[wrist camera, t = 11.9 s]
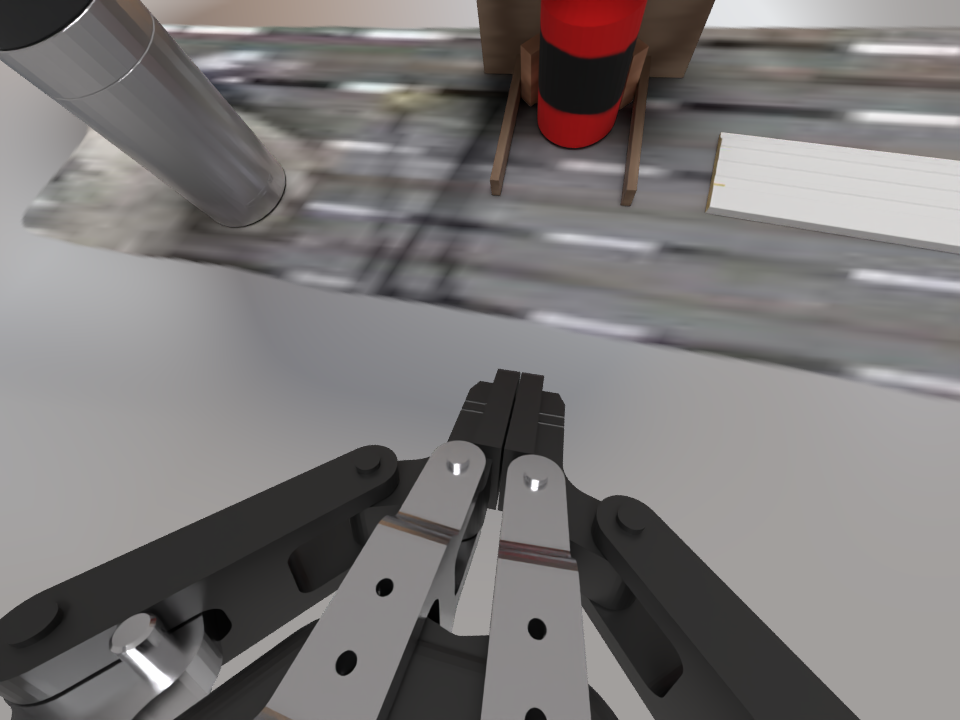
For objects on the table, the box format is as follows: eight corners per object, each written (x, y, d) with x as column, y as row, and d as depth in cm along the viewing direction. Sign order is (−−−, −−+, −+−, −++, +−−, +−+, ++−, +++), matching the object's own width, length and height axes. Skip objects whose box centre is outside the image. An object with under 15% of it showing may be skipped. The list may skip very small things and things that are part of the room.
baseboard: (718, 127, 34) (701, 217, 32) (735, 100, 32) (717, 196, 30) (1127, 176, 29) (1137, 289, 27) (1189, 147, 26) (1206, 270, 24)
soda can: (526, 105, 37) (526, -52, 26) (597, 79, 37) (629, -92, 25) (553, 161, 35) (565, 18, 24) (628, 134, 35) (677, -25, 23)
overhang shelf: (684, 62, 36) (846, -341, 18) (672, 209, 32) (862, -111, 14) (488, 59, 39) (454, -283, 21) (456, 192, 36) (381, -85, 17)
